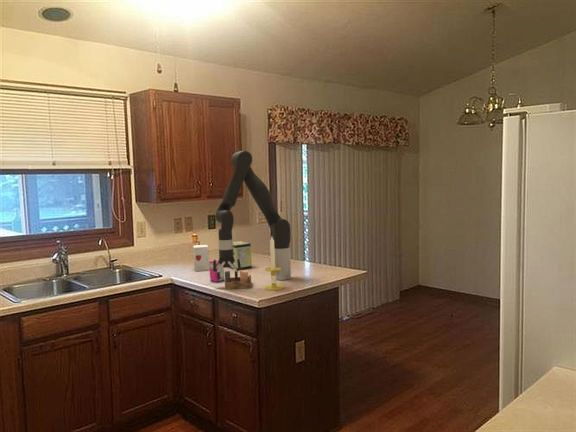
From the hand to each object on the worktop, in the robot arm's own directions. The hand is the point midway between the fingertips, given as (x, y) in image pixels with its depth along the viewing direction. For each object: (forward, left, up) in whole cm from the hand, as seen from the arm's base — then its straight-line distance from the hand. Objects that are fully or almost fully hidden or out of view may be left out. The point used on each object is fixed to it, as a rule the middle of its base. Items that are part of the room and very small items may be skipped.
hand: (227, 278), depth 261 cm
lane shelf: (-6, 0, -4) cm, 7 cm away
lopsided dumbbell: (-5, 0, -2) cm, 5 cm away
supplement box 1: (+20, -50, -4) cm, 54 cm away
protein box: (-3, -51, -4) cm, 51 cm away
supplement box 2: (+7, -15, -4) cm, 17 cm away
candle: (-24, +8, -4) cm, 26 cm away
